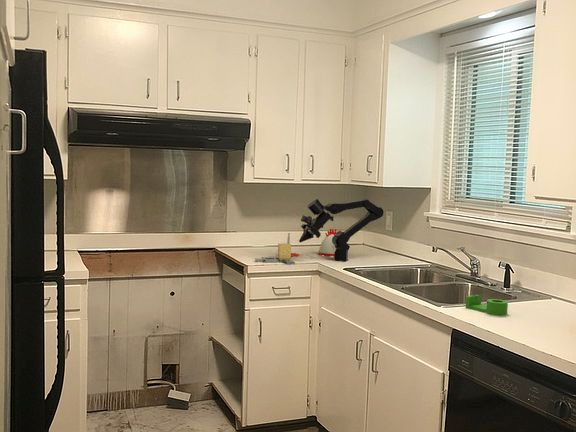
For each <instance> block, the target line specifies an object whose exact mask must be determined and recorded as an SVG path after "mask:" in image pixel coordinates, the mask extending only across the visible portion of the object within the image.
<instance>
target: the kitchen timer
mask: <svg viewBox="0 0 576 432" xmlns="http://www.w3.org/2000/svg"><path fill="white" fill-rule="evenodd" d="M338 231H339V230H337V229H336V228H335V230H334V228H329V230H327V232H325V237H324V238H323V240H322V241H321V243H320V246H319V248H318V249H319V250H318V255H319V254H320V255H319V256H321V255H324V256H323V257H329V256H334V253H335V251H336V249H337V248H335V245H334V244H333V243H332V238H333V236H334V234H336V233H337V232H338Z"/></svg>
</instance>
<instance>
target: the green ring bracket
mask: <svg viewBox="0 0 576 432" xmlns="http://www.w3.org/2000/svg"><path fill="white" fill-rule="evenodd" d="M465 308H467V309H470V310H474V311H478V312H481V313H486V314H488V315H492V316H499V317H501V316H507V315H508V308H509V302H508V300H503V299H499V298H498V299H497V298H489V299H487V300H486V304H484V303H482V296H481V295H479V294H474V295H466V297H465Z"/></svg>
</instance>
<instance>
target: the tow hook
mask: <svg viewBox="0 0 576 432" xmlns="http://www.w3.org/2000/svg"><path fill="white" fill-rule="evenodd" d="M290 235H291V233H290V232H288V233H287V241H286V244H290V241H291V240H290V239H291V237H290ZM292 257H300V253H296V252H291V258H292Z"/></svg>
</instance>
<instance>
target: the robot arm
mask: <svg viewBox="0 0 576 432" xmlns="http://www.w3.org/2000/svg"><path fill="white" fill-rule="evenodd" d="M307 208H308V210H309V211H310V212H311V213H312V214H313V215H314V216H315V215H316V217H314V218H313V217H312V216H310V215H307V216H306V215H304V214H303V215H302V217H301V218H300V222H303V223H302V224H301V225H300V227H301V228H302V231H303V233H302V234H301V236H300V238H299V239H298V242H299V243H303V242H305V241H308V240H311V239H313V238H315V237H316V238H317V239H319V238H320V237H321V236H322V235H321V234H322V233H321V232H320V230H321V229H323V228H324V226H325V225H326V223H328V222H329V221H331V222H334V215H337V214H340V213H343V212H344V211H348V210H354V209H359V208H364V209H365V210H366V211H367V212H366V213H365V215H364V216H363V217H361V218H360V219H359V220H357V221H356V222H355V223H354V224H352V225H351V226H350V227H348V228H347V229H345V230H344V231H342V230H337V231H338V232H337V231H336V234H334V236H333V238H332V243H333V244H334V245H335V248H337V249H336V251H335V253H334V257H333V259H334V261H336V262H337V261H338V262H347V261H349V260H350V259H349V250H350V247H351V246H350V244H349V243H348V242H349V240H350V238H351V237H353V236H354V235H355V234H357V233H358V232H359V231H361V230H362V229H363V228H365V227H366V226H367V225H368V224H369V223H371V222H373V221H376V220H378V219H380V218H382V217H383V216H384V210H383V208H382V207H381V206H380V207H379V206H377V205H375V204H374V203H372V202H371V201H370V200H369V199H367V198H362V199H357V200H353V201H348V202H347V201H346V202H329V203H327V204H325V205H323V204H322V203H321V201H320V200H319V199H317V198H315V199H314V200H313V201H311V202H309V204H307ZM331 214H332V215H331Z"/></svg>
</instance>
